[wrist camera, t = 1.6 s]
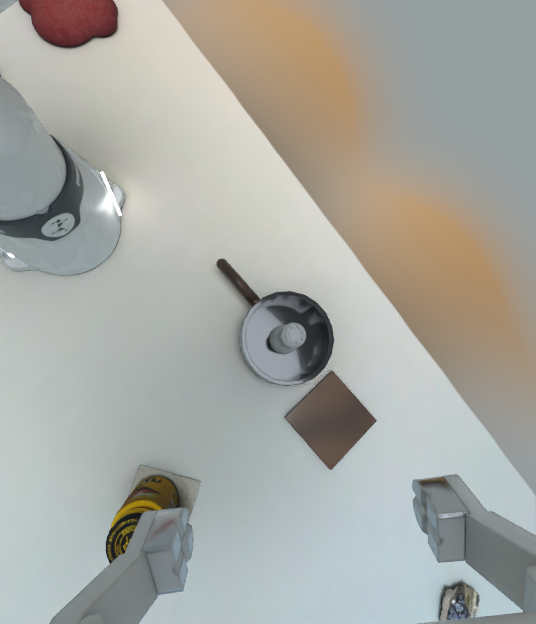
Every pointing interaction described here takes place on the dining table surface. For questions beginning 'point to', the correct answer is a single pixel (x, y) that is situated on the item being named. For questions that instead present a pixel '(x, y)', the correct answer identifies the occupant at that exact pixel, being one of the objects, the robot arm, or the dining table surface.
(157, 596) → the robot arm
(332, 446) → the plate
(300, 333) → the rook chess piece
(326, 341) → the pan
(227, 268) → the pan handle
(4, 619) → the dining table surface
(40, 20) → the patty
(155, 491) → the condiment
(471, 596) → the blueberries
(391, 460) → the dining table surface
